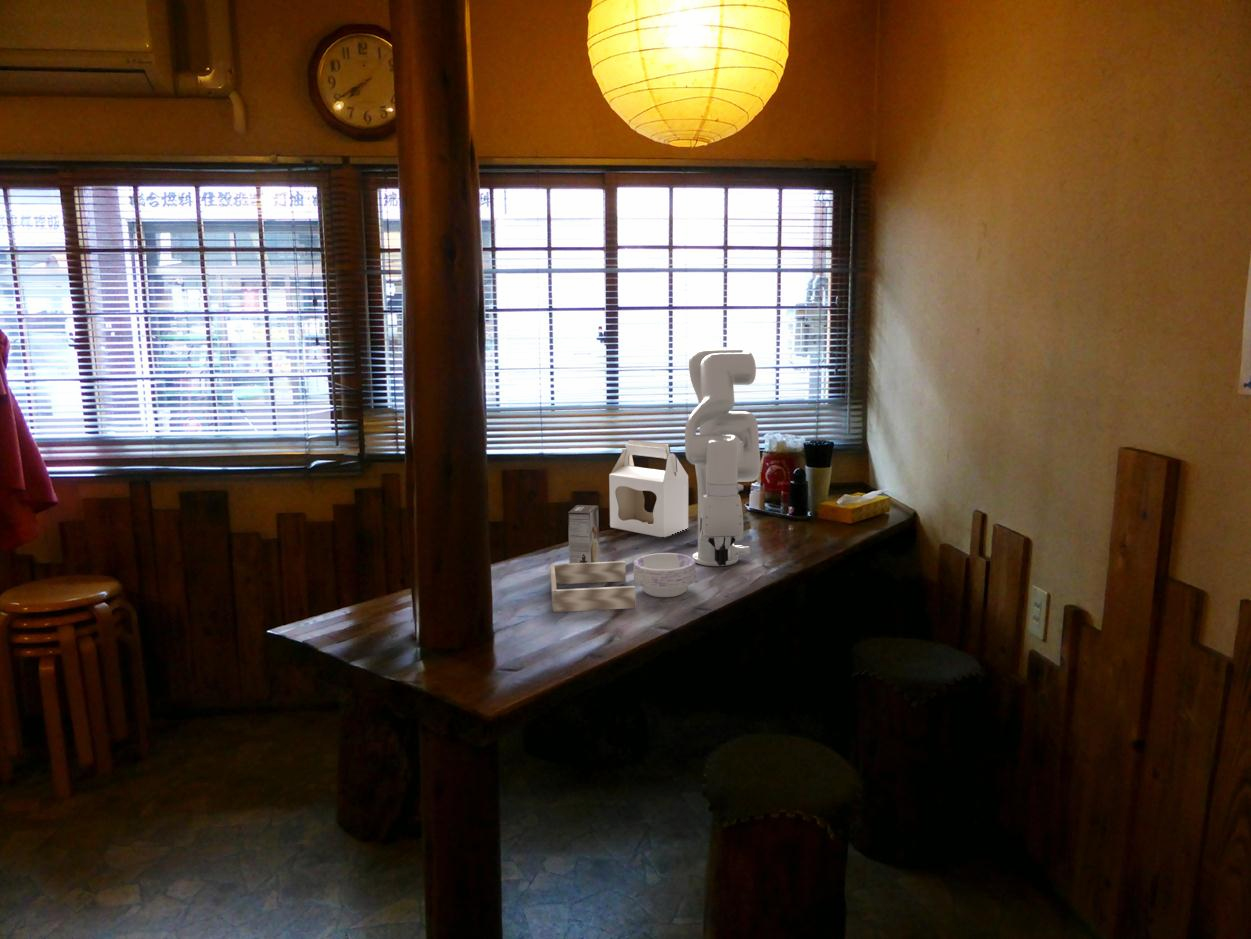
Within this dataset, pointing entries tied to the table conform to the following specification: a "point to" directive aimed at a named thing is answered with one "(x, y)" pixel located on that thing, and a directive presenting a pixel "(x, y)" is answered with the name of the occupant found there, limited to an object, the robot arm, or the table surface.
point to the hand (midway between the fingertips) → (721, 563)
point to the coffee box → (583, 534)
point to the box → (590, 596)
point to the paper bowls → (664, 573)
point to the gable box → (635, 480)
